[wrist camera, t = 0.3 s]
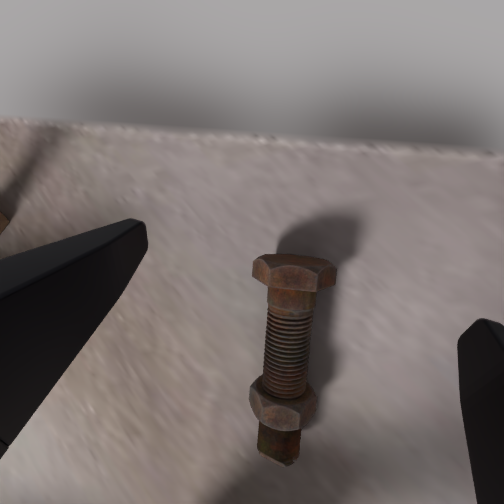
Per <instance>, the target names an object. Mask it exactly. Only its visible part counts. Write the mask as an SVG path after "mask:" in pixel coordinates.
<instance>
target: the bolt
mask: <svg viewBox="0 0 504 504" xmlns="http://www.w3.org/2000/svg"><path fill="white" fill-rule="evenodd" d="M336 275H337V269H336V267H335V266H334V265H333V264H332V263H330V262H329V261H327V260H325V259H319V258H314V257H308V256H299V255H290V254H265V255H262V256H260V257H258V258H257V259H256V260H254V261H253V271H252V277H254V278H255V279H257V280H259V281H260V282H262V283H263V284H265V285H266V286H268V297H267V302H268V313H267V315H268V316H267V320H268V321H267V326H266V329H267V330H266V337H265V338H266V340H265V349H264V350H265V353H264V366H263V368H264V369H263V375H261V376H260V377H258V378H257V379H256V380H255V381H254V382H253V384H252V385H251V386H250V393H249V402H250V405H251V408H252V410H253V412H254V414H255V416H256V417H257V419H258V420H259V431H258V443H257V448H258V451H259V454H260V455H261V456H263V457H264V458H266V459H268V460H270V461H272V462H274V463H276V464H278V465H279V466H281V467H287V466H290V465H292V464H293V463H294V462H293V460H297V459H298V457H299V450H300V439H301V437H300V436H301V428H302V427H304V426H305V425H306V424H307V423H308V422H309V421H310V419H311V418H312V416H313V415H314V413H315V411H316V404H317V396H316V394H315V392H314V390H313V389H312V387H311V386H310V384H309V383H308V382H307V381H306V380H307V378H306V377H307V368H308V358H309V356H308V355H309V349H310V346H309V345H310V336H311V327H312V318H313V315H312V314H313V309H314V307H315V302H316V293H317V291H320V290H323V289H325V288H328V287H331V286H334V285H335V284H336Z"/></svg>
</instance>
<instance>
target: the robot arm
mask: <svg viewBox="0 0 504 504" xmlns="http://www.w3.org/2000/svg"><path fill="white" fill-rule="evenodd" d="M147 249H148V239H147V231H146V225H145V223H144V222H142V221H139V220H136V219H132V218H129V219H126V220H123V221H120V222H116V223H113V224H110V225H107V226H104V227H101V228H98V229H94V230H91V231H88V232H85V233H82V234H79V235H76V236H72V237H69V238H66V239H63V240H60V241H57V242H53V243H50V244H47V245H44V246H41V247H38V248H35V249H31V250H28V251H25V252H22V253H19V254H16V255H13V256H9V257H6V258H3V259H0V459H1V458H2V456H3V455H4V453H5V452H6V451H7V449H8V448H9V446H10V445H11V444H12V442H13V441H14V440H15V438H16V437H17V435H18V434H19V433H20V431H21V430H22V429H23V427H24V426H25V425H26V423H27V422H28V421H29V419H30V418H31V417H32V415H33V414H34V413H35V411H36V410H37V408H38V407H39V406H40V404H41V403H42V402H43V400H44V399H45V398H46V396H47V395H48V394H49V392H50V391H51V390H52V388H53V387H54V385H55V384H56V383H57V381H58V380H59V379H60V377H61V376H62V375H63V373H64V372H65V371H66V369H67V368H68V367H69V365H70V364H71V362H72V361H73V360H74V358H75V357H76V356H77V354H78V353H79V352H80V350H81V349H82V348H83V346H84V345H85V344H86V342H87V341H88V340H89V338H90V337H91V335H92V334H93V333H94V331H95V330H96V329H97V327H98V326H99V325H100V323H101V322H102V321H103V319H104V318H105V317H106V315H107V314H108V312H109V311H110V310H111V308H112V307H113V306H114V304H115V303H116V302H117V300H118V299H119V297H120V296H121V295H122V293H123V291H124V290H125V288H126V287H127V285H128V283H129V281H130V280H131V278H132V276H133V274H134V273H135V271H136V269H137V268H138V266H139V264H140V262H141V261H142V259H143V257H144V255H145V254H146V252H147ZM457 350H458V370H459V390H460V402H461V410H462V416H463V422H464V428H465V434H466V440H467V446H468V452H469V458H470V464H471V469H472V475H473V481H474V487H475V493H476V499H477V504H504V326H503V325H502V324H500V323H498V322H495V321H492V320H488V319H484V318H481V319H478V320H476V321H475V322H474V323H473V324H472V325H471V326H470V327H469V328H468V329H467V330H466V331H465V332H464V333H463V334H462V335H461V336H460V338H459V340H458V344H457Z"/></svg>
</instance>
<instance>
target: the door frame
mask: <svg viewBox="0 0 504 504" xmlns="http://www.w3.org/2000/svg"><path fill="white" fill-rule="evenodd" d="M8 223H9V221H8V219H7V218H6V217H5V216H4V215H3V214H2V213H1V212H0V234H1V232H2V231H3V230H4V228H5V227H6V226H7V225H8Z"/></svg>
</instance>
